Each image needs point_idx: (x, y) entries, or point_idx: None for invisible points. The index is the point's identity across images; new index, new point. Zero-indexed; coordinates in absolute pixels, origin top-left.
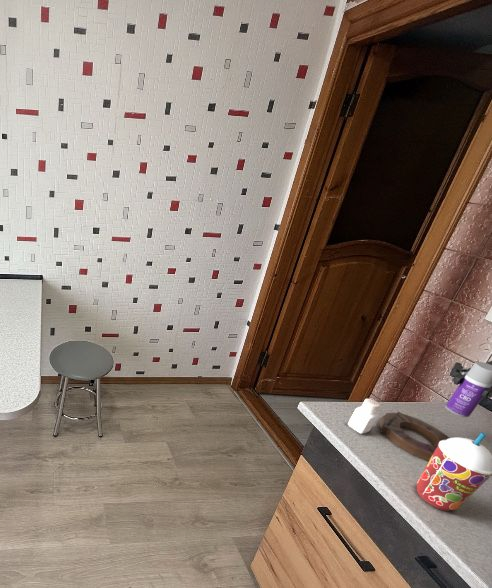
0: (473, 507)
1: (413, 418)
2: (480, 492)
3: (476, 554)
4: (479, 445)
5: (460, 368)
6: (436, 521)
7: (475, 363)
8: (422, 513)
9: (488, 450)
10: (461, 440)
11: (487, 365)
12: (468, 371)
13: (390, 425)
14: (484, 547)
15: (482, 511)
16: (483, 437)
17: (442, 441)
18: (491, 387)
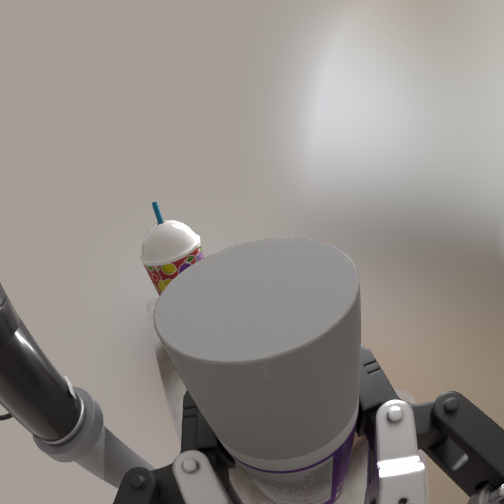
0: (169, 361)
1: (355, 432)
2: (173, 401)
3: (153, 311)
4: (159, 240)
5: (466, 441)
6: None
7: (321, 243)
8: None
9: (148, 237)
10: (175, 221)
11: (274, 301)
12: (420, 462)
13: None
14: (150, 323)
15: (161, 366)
16: (154, 208)
17: (197, 238)
18: (212, 435)
